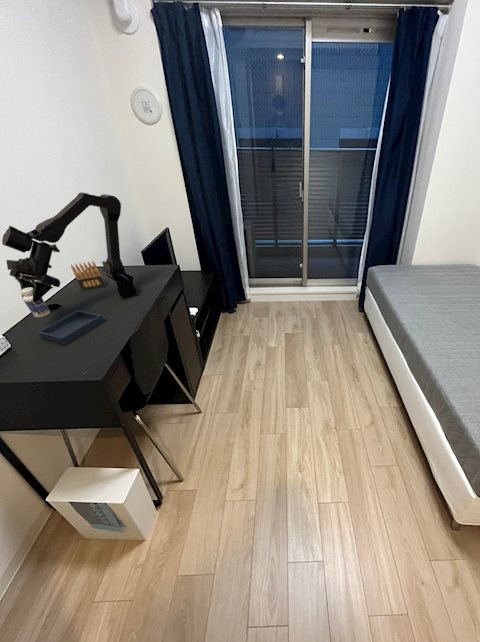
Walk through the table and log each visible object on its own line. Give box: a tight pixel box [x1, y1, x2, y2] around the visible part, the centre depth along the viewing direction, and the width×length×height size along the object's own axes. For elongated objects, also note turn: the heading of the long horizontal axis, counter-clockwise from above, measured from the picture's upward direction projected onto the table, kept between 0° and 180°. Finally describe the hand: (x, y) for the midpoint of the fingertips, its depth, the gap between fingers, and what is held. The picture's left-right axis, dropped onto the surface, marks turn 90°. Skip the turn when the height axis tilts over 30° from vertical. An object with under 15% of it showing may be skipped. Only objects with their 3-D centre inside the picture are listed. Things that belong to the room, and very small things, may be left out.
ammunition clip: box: [70, 260, 107, 292], centre depth 152 cm, size 11×2×12 cm, turn 109°
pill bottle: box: [20, 287, 51, 318], centre depth 119 cm, size 5×5×10 cm
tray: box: [37, 309, 105, 346], centre depth 125 cm, size 17×13×3 cm
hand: (29, 301), depth 118 cm, fingers closed on pill bottle, 5 cm apart
